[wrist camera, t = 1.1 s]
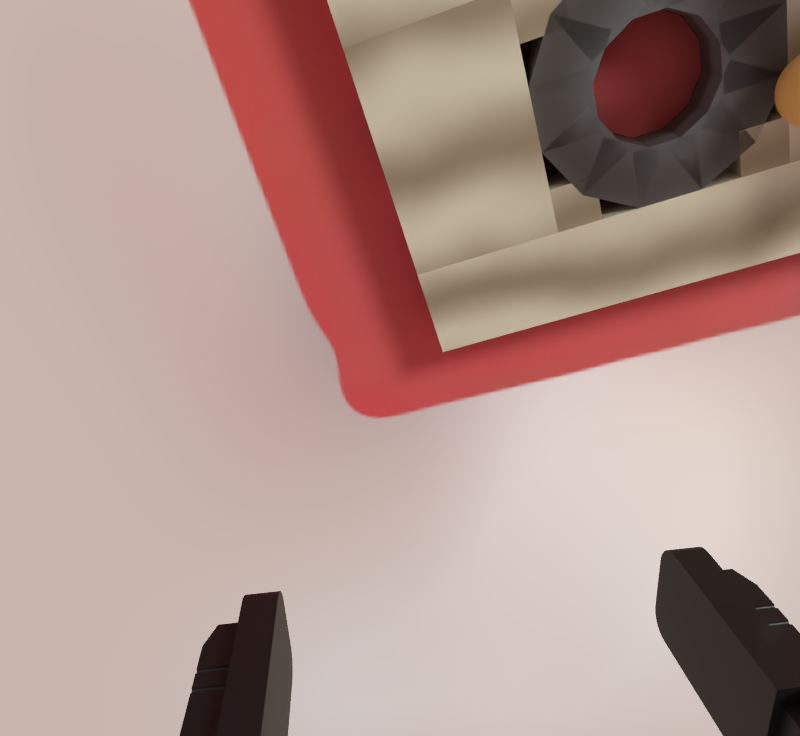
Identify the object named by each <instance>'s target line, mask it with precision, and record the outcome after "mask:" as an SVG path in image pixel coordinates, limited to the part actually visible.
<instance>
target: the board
mask: <svg viewBox="0 0 800 736" xmlns="http://www.w3.org/2000/svg"><path fill="white" fill-rule="evenodd" d="M327 2H328V5H329V8H330V11H331V14H332V17H333V20H334V23H335V26H336V29H337V32H338V35H339V38H340V41H341V44H342V48H343V51H344V54H345V57H346V60H347V63H348V66H349V69H350V72H351V75H352V78H353V81H354V84H355V87H356V90H357V93H358V96H359V99H360V102H361V105H362V108H363V111H364V114H365V117H366V120H367V123H368V126H369V129H370V132H371V136H372V139H373V142H374V145H375V148H376V151H377V154H378V157H379V160H380V163H381V166H382V169H383V172H384V175H385V178H386V181H387V184H388V187H389V190H390V193H391V196H392V199H393V202H394V205H395V208H396V211H397V214H398V217H399V221H400V224H401V227H402V230H403V233H404V236H405V239H406V242H407V245H408V248H409V251H410V254H411V257H412V260H413V263H414V266H415V269H416V272H417V275H418V278H419V281H420V284H421V287H422V290H423V293H424V296H425V299H426V302H427V305H428V309H429V312H430V315H431V318H432V321H433V324H434V327H435V330H436V333H437V336H438V339H439V342H440V345H441V348H442V351H443V352H445V351H449V350H453V349H456V348H460V347H463V346H467V345H470V344H474V343H478V342H481V341H485V340H488V339H492V338H496V337H499V336H503V335H506V334H510V333H514V332H517V331H521V330H524V329H528V328H531V327H535V326H539V325H542V324H546V323H549V322H553V321H557V320H560V319H564V318H567V317H571V316H575V315H578V314H582V313H585V312H589V311H593V310H596V309H600V308H603V307H607V306H610V305H614V304H618V303H621V302H625V301H628V300H632V299H636V298H639V297H643V296H646V295H650V294H654V293H657V292H661V291H664V290H668V289H672V288H675V287H679V286H682V285H686V284H689V283H693V282H697V281H700V280H704V279H707V278H711V277H715V276H718V275H722V274H725V273H729V272H733V271H736V270H740V269H743V268H747V267H750V266H754V265H758V264H761V263H765V262H768V261H772V260H776V259H779V258H783V257H786V256H790V255H794V254H797V253H800V127H797V126H794V125H792V124H790V123H788V122H787V121H786V120H785V119H784V118H783V117H782V116H781V115H780V113H779V112H778V110H777V108H776V104H775V98H774V96H775V87H776V83H777V81H778V78H779V76H780V75H781V73H782V71H783V70H784V69H785V67H786V66H787V65H788V64H789V63H790V62H791V61H792V60H793V59H794V58H796V57H797V56H798V55H800V0H327ZM659 10H665V11H669V12H672V13H676V14H680V15H681V16H682V18H683V19H684V20H685V21H686V23H687V24H688V25H689V27H690V28H691V29H692V30H693V32H694V33H695V34H696V36H697V37H698V38H699V44H700V57H701V69H702V73H701V75H700V78H699V80H698V83H697V85H696V87H695V90H694V92H693V95H692V97H691V100H690V102H689V104H688V106H687V107H686V108H684V109H683V110H682V111H681V112H680V113H679V114H678V115H677V116H676V117H675V118H674V119H673V120H672V121H671V122H670V123H669V124H668V125H667V126H665V127H664V128H663V129H660V130H657V131H654V132H651V133H648V134H645V135H641V136H638V137H635V138H630V137H626V136H622V135H617V134H613V133H611V132H610V130H609V129H608V128H607V127H606V126H605V125H604V124H603V123H602V122H601V120H600V119H599V118H598V113H597V107H596V101H595V94H594V88H593V83H594V80H595V77H596V74H597V71H598V68H599V65H600V62H601V59H602V56H603V53H604V50H605V48H606V47H607V46H608V45H609V44H610V43H611V41H612V40H613V39H614V38H615V37H616V36H617V35H618V34H619V33H620V32H621V31H622V30H623V29H624V28H625V27H626V26H627V25H628V24H629V23H630V22H631V21H632V20H633V19H635V18H638V17H641V16H644V15H647V14H650V13H653V12H656V11H659ZM530 40H532V43H531V46H530V50H529V54H528V57H527V61H526V64H525V68H524V63H523V58H522V53H521V49H520V44H522V43H525V42H528V41H530ZM542 154H543V155H544V156H545V157H546V158H547V159H548V160H549V161H550V162H551V163H552V164H553V165H554V166H555V167H556V168H557V169H558V170H559V171H560V173H557V174H554V175H551V176H548V177H547V175H546V170H545V165H544V161H543V156H542ZM599 199H602V200H606V202H603V203H600V201H599Z"/></svg>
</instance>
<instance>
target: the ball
mask: <svg viewBox="0 0 800 736" xmlns="http://www.w3.org/2000/svg"><path fill="white" fill-rule="evenodd" d="M774 98H775V104H776V108H777V110H778V112H779V113H780V115H781V116H782V117H783V118H784V119H785V120H786V121H787V122H788V123H790V124H792V125H794V126H797V127H800V55H798V56H797V57H796V58H794V59H793V60H792V61H791V62H790V63H789V64H788V65H787V66H786V67H785V69H784V70H783V71H782V73H781V75H780V76H779V78H778V81H777V83H776V87H775V96H774Z"/></svg>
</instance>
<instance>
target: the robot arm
mask: <svg viewBox="0 0 800 736" xmlns="http://www.w3.org/2000/svg"><path fill="white" fill-rule="evenodd" d="M656 619H657V624H658V627H659V630H660V633H661V635H662V637H663V639H664V641H665V643H666V644H667V646H668V647H669V649H670V651H671V652H672V654H673V655H674V657H675V658H676V660H677V662H678V663H679V665H680V667H681V668H682V670H683V672H684V673H685V675H686V676H687V678H688V680H689V681H690V683H691V684H692V686H693V688H694V689H695V691H696V692H697V694H698V695H699V697H700V699H701V700H702V702H703V704H704V705H705V707H706V709H707V710H708V712H709V714H710V715H711V717H712V718H713V720H714V722H715V723H716V725H717V726H718V728H719V730H720V731H721V733H722V734H723V736H800V633H799V632H798V631H797V630H796V628H795V627H794V626H793V625H790V624H789V623H788V619H787V618H786V617H785V616H784V615H783V614H782V613H781V612H780V611H779V609H778V608H775V607H774V604H773V603H772V601H771V600H770V599H769V598H768V597H767V596H766V595H765V594H764V592H763V591H762V590H761V589H760V588H759V587H758V586H757V585H756V584H755V583H753V582H751V581H750V580H748V579H747V578H745V577H744V576H742V575H740V574H739V573H737V572H736V571H734V570H733V569H730V570H722V568H721V567H720V566H719V565H718V564H717V562H716V561H715V560H714V559H713V558H712V557H711V555H710V554H709V553H708V552H707V551H706V550H705V549H704V548H702V547H695V548H686V549H676V550H667V551H664V553H663V554H662V557H661V564H660V573H659V581H658V590H657V598H656ZM291 689H292V653H291V645H290V639H289V632H288V626H287V620H286V614H285V607H284V601H283V596H282V593H281V591H278V592H269V593H260V594H250V595H245V596H244V598H243V601H242V606H241V611H240V616H239V621H238V623H232V624H222V625H218V626H217V627H216V629H215V630H214V631H213V633H212V634H211V636H210V637H209V638H208V640H207V641H206V642H205V644H204V645H203V647H202V651H201V654H200V658H199V662H198V666H197V674H195V678H194V682H193V686H192V693H191V694H190V697H189V701H188V705H187V709H186V713H185V717H184V721H183V725H182V729H181V733H180V736H288V725H289V713H290V701H291Z"/></svg>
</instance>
